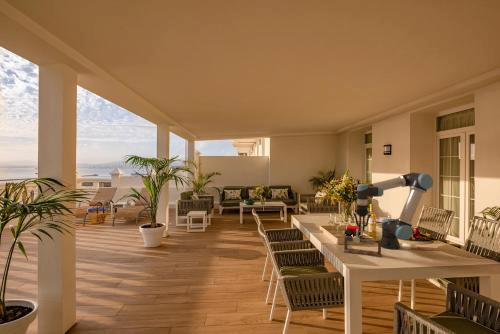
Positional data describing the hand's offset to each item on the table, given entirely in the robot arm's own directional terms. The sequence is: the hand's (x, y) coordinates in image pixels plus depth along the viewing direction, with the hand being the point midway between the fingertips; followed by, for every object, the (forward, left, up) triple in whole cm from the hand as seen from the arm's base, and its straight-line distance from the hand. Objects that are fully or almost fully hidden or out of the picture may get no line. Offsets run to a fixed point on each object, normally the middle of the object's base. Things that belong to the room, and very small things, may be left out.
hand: (361, 235), depth 226 cm
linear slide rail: (0, 0, -14) cm, 14 cm away
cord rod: (0, 0, -5) cm, 5 cm away
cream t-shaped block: (+3, -2, -6) cm, 7 cm away
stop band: (+5, -4, -5) cm, 8 cm away
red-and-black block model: (-21, -39, -14) cm, 47 cm away
